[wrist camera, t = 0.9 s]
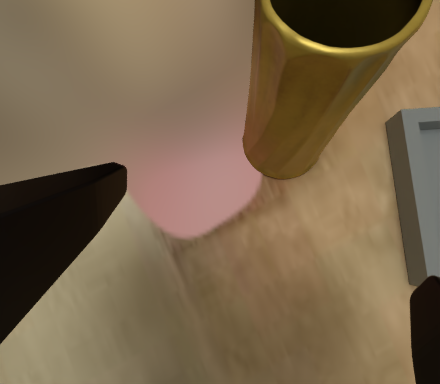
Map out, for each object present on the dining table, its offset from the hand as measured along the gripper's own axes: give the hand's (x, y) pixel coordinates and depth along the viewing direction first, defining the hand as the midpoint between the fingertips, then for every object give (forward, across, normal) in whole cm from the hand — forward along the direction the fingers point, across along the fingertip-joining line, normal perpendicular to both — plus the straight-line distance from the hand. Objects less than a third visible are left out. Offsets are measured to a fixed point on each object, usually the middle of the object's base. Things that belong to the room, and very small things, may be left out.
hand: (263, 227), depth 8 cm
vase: (+15, 0, +4) cm, 16 cm away
